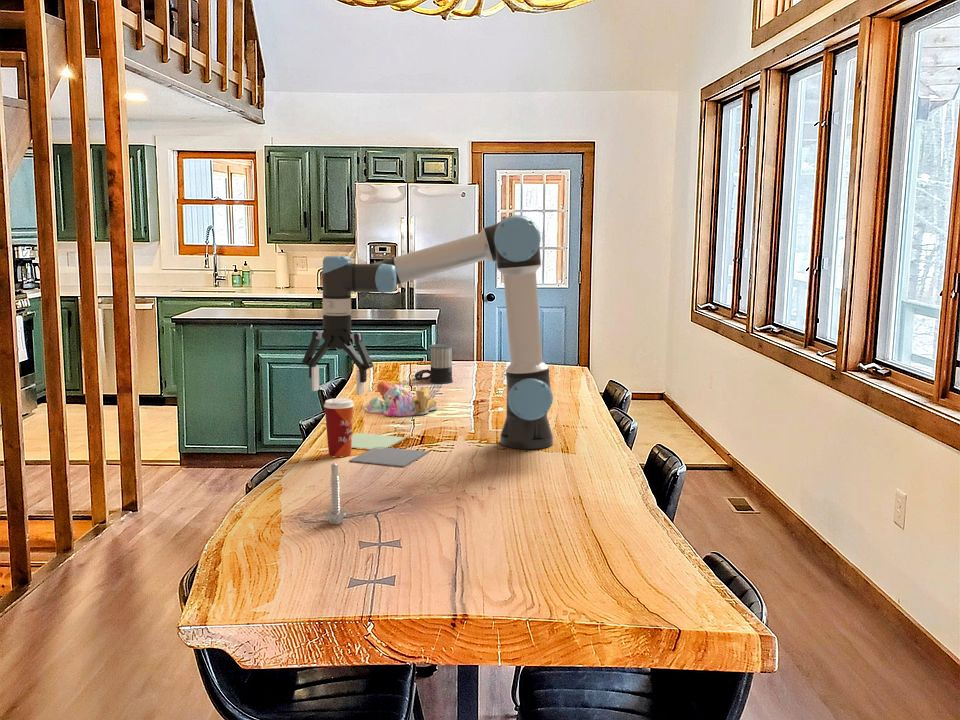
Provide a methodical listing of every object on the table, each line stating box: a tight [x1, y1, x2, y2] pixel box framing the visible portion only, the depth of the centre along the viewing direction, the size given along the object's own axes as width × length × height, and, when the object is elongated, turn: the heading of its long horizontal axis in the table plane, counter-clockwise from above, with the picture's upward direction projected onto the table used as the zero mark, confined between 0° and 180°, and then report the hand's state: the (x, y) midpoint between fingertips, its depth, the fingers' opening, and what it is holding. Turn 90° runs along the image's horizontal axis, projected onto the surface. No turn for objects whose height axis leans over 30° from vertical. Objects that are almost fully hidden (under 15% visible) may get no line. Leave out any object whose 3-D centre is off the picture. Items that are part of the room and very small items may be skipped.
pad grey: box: [348, 447, 430, 468], centre depth 243 cm, size 16×16×1 cm
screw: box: [323, 462, 348, 526], centre depth 189 cm, size 13×5×5 cm
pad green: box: [351, 432, 406, 451], centre depth 260 cm, size 16×16×1 cm
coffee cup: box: [323, 397, 355, 458], centre depth 245 cm, size 8×8×15 cm
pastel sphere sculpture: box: [364, 381, 438, 417], centre depth 306 cm, size 25×24×9 cm
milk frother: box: [414, 343, 453, 384], centre depth 362 cm, size 14×16×15 cm
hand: (337, 392), depth 243 cm, fingers open, 13 cm apart
